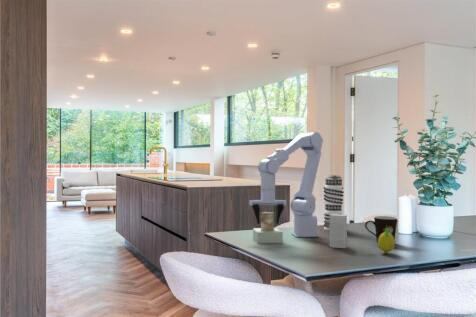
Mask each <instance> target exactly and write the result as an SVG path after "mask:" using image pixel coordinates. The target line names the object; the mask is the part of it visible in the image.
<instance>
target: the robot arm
mask: <svg viewBox="0 0 476 317" xmlns="http://www.w3.org/2000/svg"><path fill="white" fill-rule="evenodd" d="M323 143H324V139H323V137H322V135H321V134H320V132H318V131H314V132H300V133H298V135H297V134H296V135H295V137H294V138H293V139H292V141H290V142H289V143H288V144H287V145H286V146H285V147H283V148H276V149H275V151H274V152H273V153H272V154H270V155H268V156H267V158H265V159H264V158H263V159H262V160H260V162H259V164H258V166H257V170H258V172H259V176H260V199H250V200H249V206H251V207H252V210H253V212H254V216H255V220H256V224H257V225H259V224H260V223H261V219H260V211H261V210H260V209H261V207H260V206H274V207H275V224H279V221H280V218H281V215H282V212H283V211H284V209H285V206H287V200H286V199H276V173H278V171H279V170H280V169H279V168H280V167H281V166H282V165H283V164H284V163H286V161H288V160H289V156H290V155H291V154H294V153H295V152H296V151H297V150H298V149H301V150H302V151H303V152H304V153H305V154H306V156H307V157H306V161H305V164H304V170H303V173H302V177H301V183H300V186H299V190H298V191H297V192H296V193H295V194H294V195H293V198H292V200H291V201H290V204H289V205H290V209H291V211H292V213H293V224H294V225H293V232H291V235H293V236H294V237H296V238H306V237H307V238H308V237H309V238H311V237H312V238H314V237H316V238H317V237H319V236H318V218H317V215H316V214H314V213H315V210H316V197H315V196H314V194H313V190H314V187H315V182H316V178H317V174H318V169H319V166H320V165H319V164H320V161H321V156H322V146H323Z"/></svg>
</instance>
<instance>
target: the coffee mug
mask: <svg viewBox="0 0 476 317" xmlns="http://www.w3.org/2000/svg"><path fill="white" fill-rule="evenodd" d="M373 219H374V220H366V222H365V224H364V227H365V229H366V230H367V231H368V233H370V234H372V235H373V236H375V237H376V243H377V244H378V239H379V237H380V235H381V234H382V233H384V232H385V230H386V225H387V230H388V233H390V234H391V235H392V236H393V238H394V241H395V242H396V240H395V239H396V231H397V226H398V225H397V224H398V217H396V216H388V215H387V216H386V215H376V216H374V217H373ZM369 223H372V224H373V225H374V228H375V232H373V231H371V230H370V229H369V228H368V227H367V225H368V224H369Z"/></svg>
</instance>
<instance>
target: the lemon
mask: <svg viewBox="0 0 476 317" xmlns="http://www.w3.org/2000/svg"><path fill="white" fill-rule="evenodd" d="M395 242H396V240H395V241H394V238H393V236H392V235H391V234H390V233H388V230H387V225H386V230H385V232H384V233H382V234H381V235H380V237H379V239H378V243H377V247H378V249H379V250H380V251H382V252H383V253H385V254H386V255H387V254H388V253H390V252H391V251H393V249H394V248H395V245H396V243H395Z"/></svg>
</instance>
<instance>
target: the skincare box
mask: <svg viewBox="0 0 476 317" xmlns="http://www.w3.org/2000/svg"><path fill="white" fill-rule="evenodd" d="M347 232H348V216H347V214H342V215H341V214H331V215H330V230H329V248H335V249H336V248H338V249H347V246H348V237H347Z"/></svg>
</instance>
